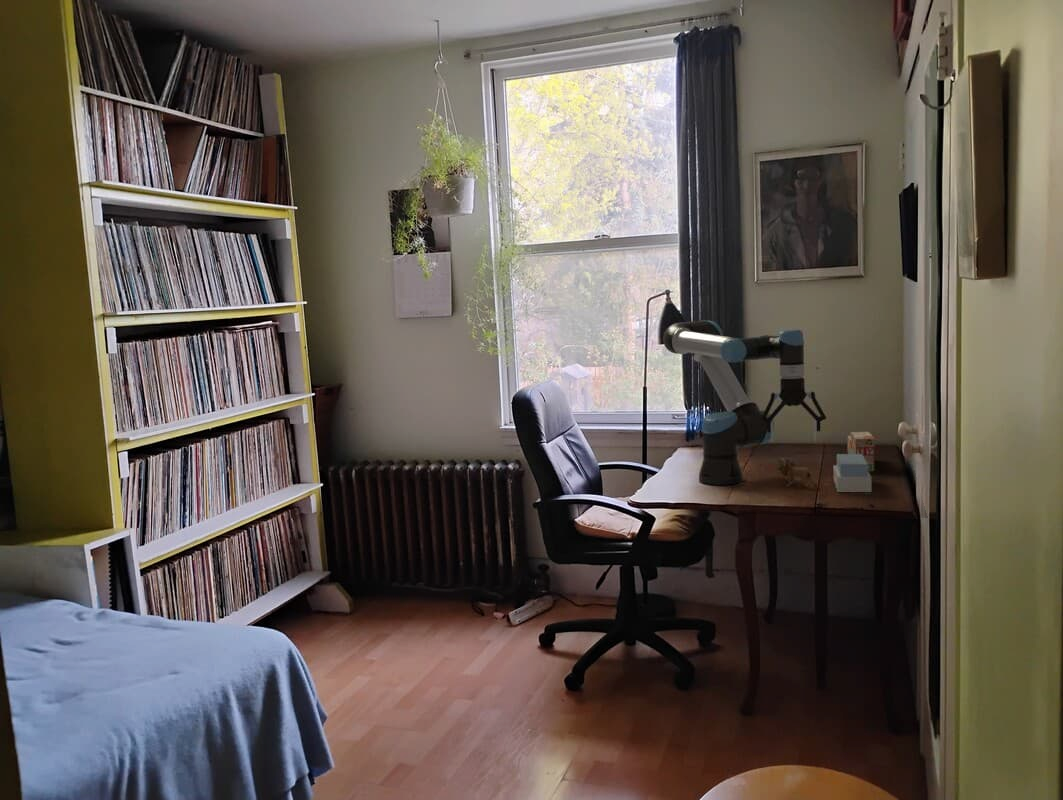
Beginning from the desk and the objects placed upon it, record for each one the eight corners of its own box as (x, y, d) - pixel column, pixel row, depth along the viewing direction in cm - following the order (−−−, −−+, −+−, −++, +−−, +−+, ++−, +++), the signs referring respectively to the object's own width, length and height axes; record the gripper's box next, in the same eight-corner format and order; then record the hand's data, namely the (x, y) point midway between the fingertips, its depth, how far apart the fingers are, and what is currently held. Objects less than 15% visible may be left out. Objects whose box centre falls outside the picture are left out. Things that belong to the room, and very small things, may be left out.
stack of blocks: (847, 460, 315) (846, 427, 313) (865, 460, 313) (864, 427, 312) (855, 472, 294) (855, 438, 293) (874, 472, 293) (874, 437, 291)
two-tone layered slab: (837, 492, 268) (837, 465, 267) (833, 479, 286) (833, 453, 284) (871, 493, 266) (871, 465, 264) (865, 479, 283) (865, 453, 282)
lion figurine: (773, 485, 283) (773, 458, 282) (781, 482, 287) (780, 456, 286) (815, 490, 273) (814, 463, 272) (822, 487, 277) (822, 460, 276)
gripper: (752, 379, 276) (754, 444, 278) (833, 377, 269) (834, 443, 271) (752, 377, 283) (754, 439, 285) (831, 374, 276) (833, 438, 279)
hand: (793, 441), depth 278 cm, fingers open, 13 cm apart
